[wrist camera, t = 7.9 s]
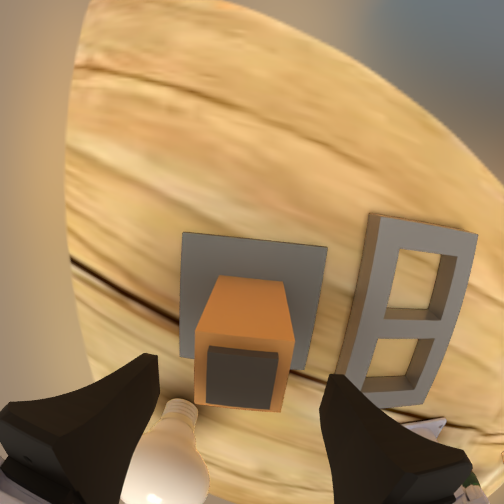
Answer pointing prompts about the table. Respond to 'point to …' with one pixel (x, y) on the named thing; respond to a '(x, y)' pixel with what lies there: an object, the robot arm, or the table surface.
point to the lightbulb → (168, 461)
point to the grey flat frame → (404, 320)
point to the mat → (256, 267)
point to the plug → (243, 345)
